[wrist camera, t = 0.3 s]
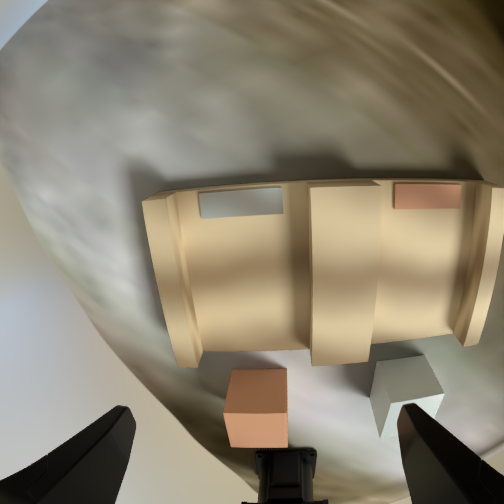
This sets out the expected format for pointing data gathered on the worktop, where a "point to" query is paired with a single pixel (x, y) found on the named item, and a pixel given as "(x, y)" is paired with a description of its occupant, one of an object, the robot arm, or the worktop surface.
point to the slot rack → (324, 264)
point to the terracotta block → (257, 408)
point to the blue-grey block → (403, 391)
